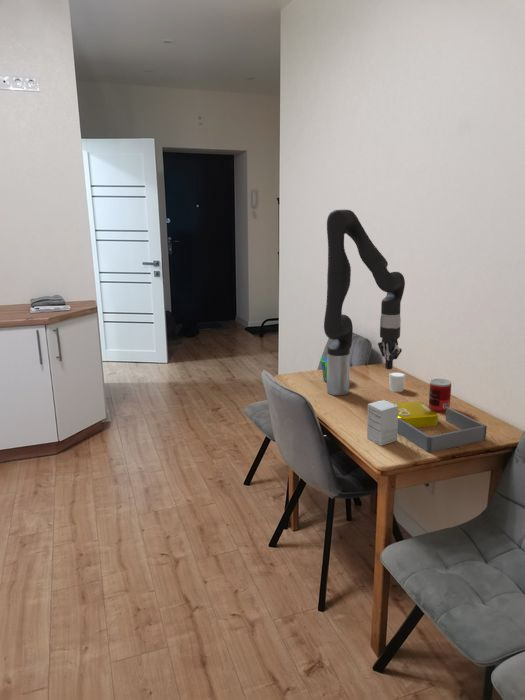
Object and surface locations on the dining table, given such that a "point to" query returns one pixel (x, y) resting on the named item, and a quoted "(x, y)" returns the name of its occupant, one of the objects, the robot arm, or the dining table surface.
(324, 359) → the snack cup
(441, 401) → the canned food
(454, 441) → the box
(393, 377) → the white piece
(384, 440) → the white rectangular box
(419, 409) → the element tile
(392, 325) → the robot arm
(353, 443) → the dining table surface
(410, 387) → the dining table surface
